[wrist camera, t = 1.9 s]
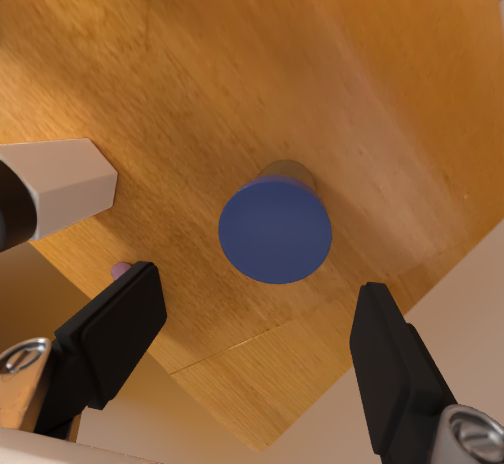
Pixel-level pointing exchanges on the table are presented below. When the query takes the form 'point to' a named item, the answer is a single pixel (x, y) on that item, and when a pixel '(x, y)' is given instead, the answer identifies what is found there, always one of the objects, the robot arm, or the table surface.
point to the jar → (51, 187)
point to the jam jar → (289, 171)
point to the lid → (275, 230)
